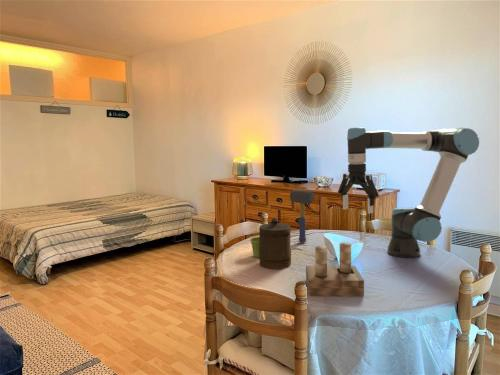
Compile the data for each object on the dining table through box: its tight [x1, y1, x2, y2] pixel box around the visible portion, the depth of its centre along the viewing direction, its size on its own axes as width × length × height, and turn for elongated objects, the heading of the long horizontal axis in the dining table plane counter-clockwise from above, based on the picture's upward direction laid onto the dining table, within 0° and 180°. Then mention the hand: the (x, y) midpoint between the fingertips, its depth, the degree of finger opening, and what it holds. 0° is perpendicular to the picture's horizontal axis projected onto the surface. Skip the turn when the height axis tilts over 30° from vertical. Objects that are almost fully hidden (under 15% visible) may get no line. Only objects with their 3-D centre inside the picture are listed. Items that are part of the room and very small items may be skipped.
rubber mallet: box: [289, 189, 315, 244], centre depth 208 cm, size 12×8×30 cm, turn 53°
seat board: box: [305, 245, 365, 297], centre depth 145 cm, size 20×16×17 cm
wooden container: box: [258, 217, 292, 270], centre depth 175 cm, size 15×15×22 cm
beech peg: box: [339, 241, 352, 274], centre depth 147 cm, size 5×5×14 cm
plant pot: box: [249, 236, 260, 259], centre depth 188 cm, size 9×9×9 cm
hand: (357, 211), depth 166 cm, fingers open, 13 cm apart
